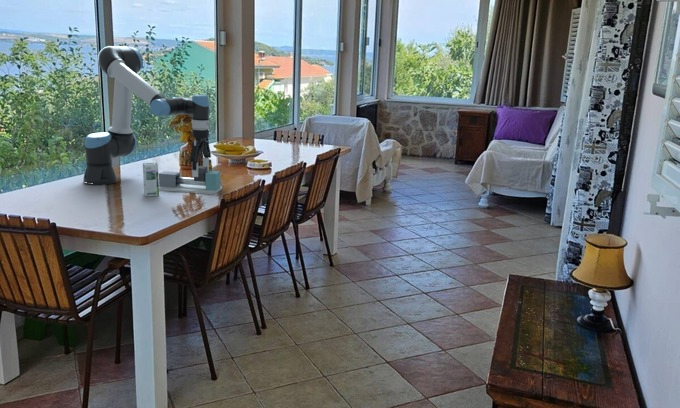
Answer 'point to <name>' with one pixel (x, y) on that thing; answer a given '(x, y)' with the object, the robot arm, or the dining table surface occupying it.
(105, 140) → the robot arm
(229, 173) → the dining table surface
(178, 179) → the tube
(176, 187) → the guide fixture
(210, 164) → the condiment
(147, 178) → the syrup box
